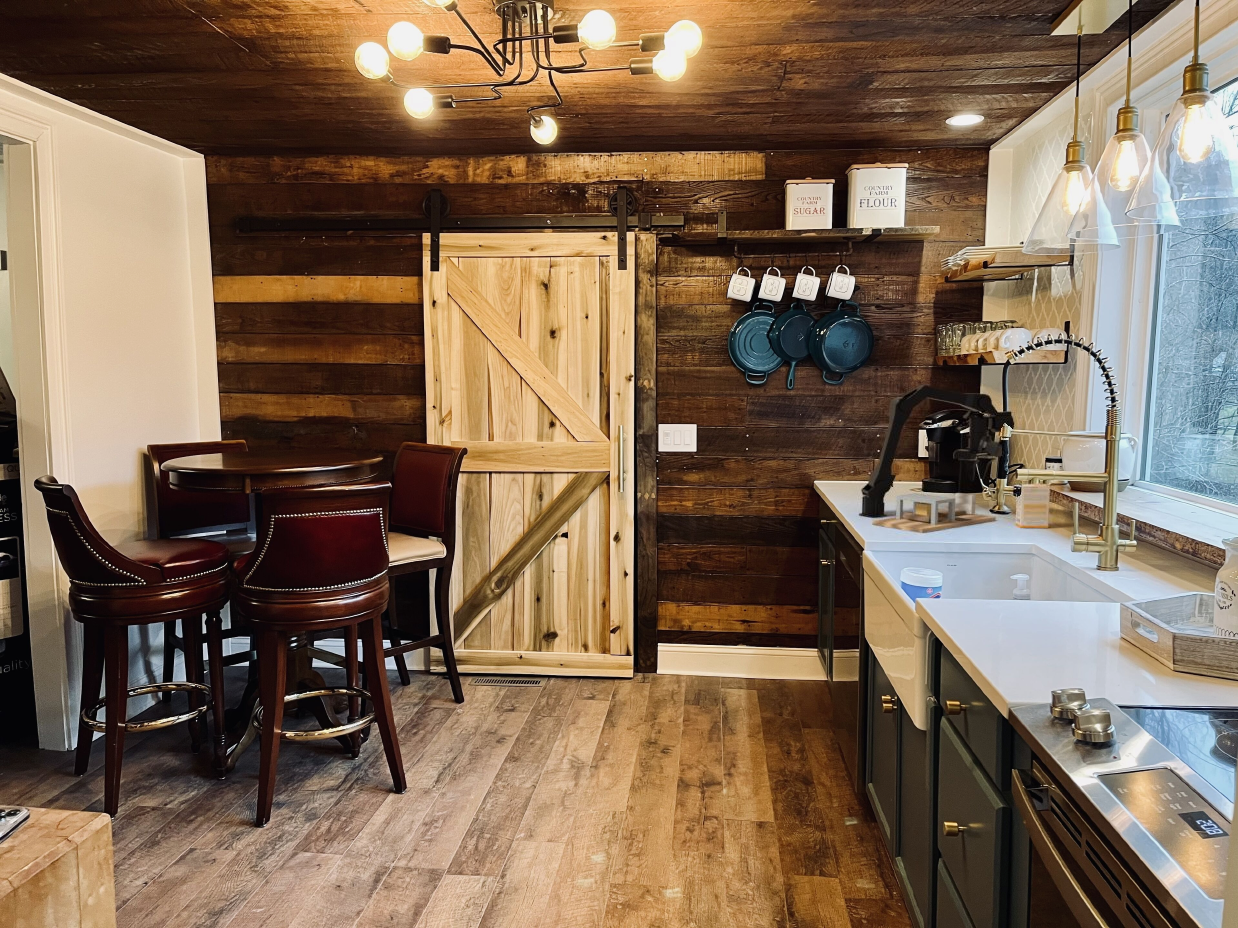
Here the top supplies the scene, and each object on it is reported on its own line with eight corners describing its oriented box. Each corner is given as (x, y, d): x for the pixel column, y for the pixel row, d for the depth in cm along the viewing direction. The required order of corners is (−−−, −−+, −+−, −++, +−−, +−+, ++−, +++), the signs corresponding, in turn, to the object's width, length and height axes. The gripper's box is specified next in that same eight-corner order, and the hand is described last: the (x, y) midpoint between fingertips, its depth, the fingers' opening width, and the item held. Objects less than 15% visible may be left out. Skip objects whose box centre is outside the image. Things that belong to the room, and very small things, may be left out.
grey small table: (895, 522, 272) (896, 495, 272) (915, 519, 278) (916, 493, 277) (934, 528, 261) (935, 500, 260) (954, 525, 267) (955, 498, 266)
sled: (903, 518, 270) (904, 499, 270) (954, 510, 286) (954, 492, 285) (928, 522, 263) (929, 502, 263) (979, 514, 278) (979, 495, 278)
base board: (872, 524, 269) (872, 520, 269) (945, 513, 291) (945, 509, 290) (922, 532, 254) (922, 528, 254) (995, 520, 276) (995, 516, 276)
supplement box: (1042, 525, 266) (1044, 483, 265) (1048, 528, 261) (1050, 485, 260) (1014, 525, 267) (1016, 483, 266) (1020, 528, 262) (1022, 485, 261)
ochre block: (915, 515, 270) (916, 503, 269) (923, 514, 272) (923, 502, 272) (926, 517, 266) (927, 504, 266) (934, 516, 269) (935, 503, 268)
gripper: (984, 434, 270) (982, 484, 272) (1018, 432, 281) (1015, 480, 283) (953, 432, 279) (951, 480, 281) (986, 430, 290) (984, 477, 292)
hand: (976, 479), depth 284 cm, fingers open, 5 cm apart
